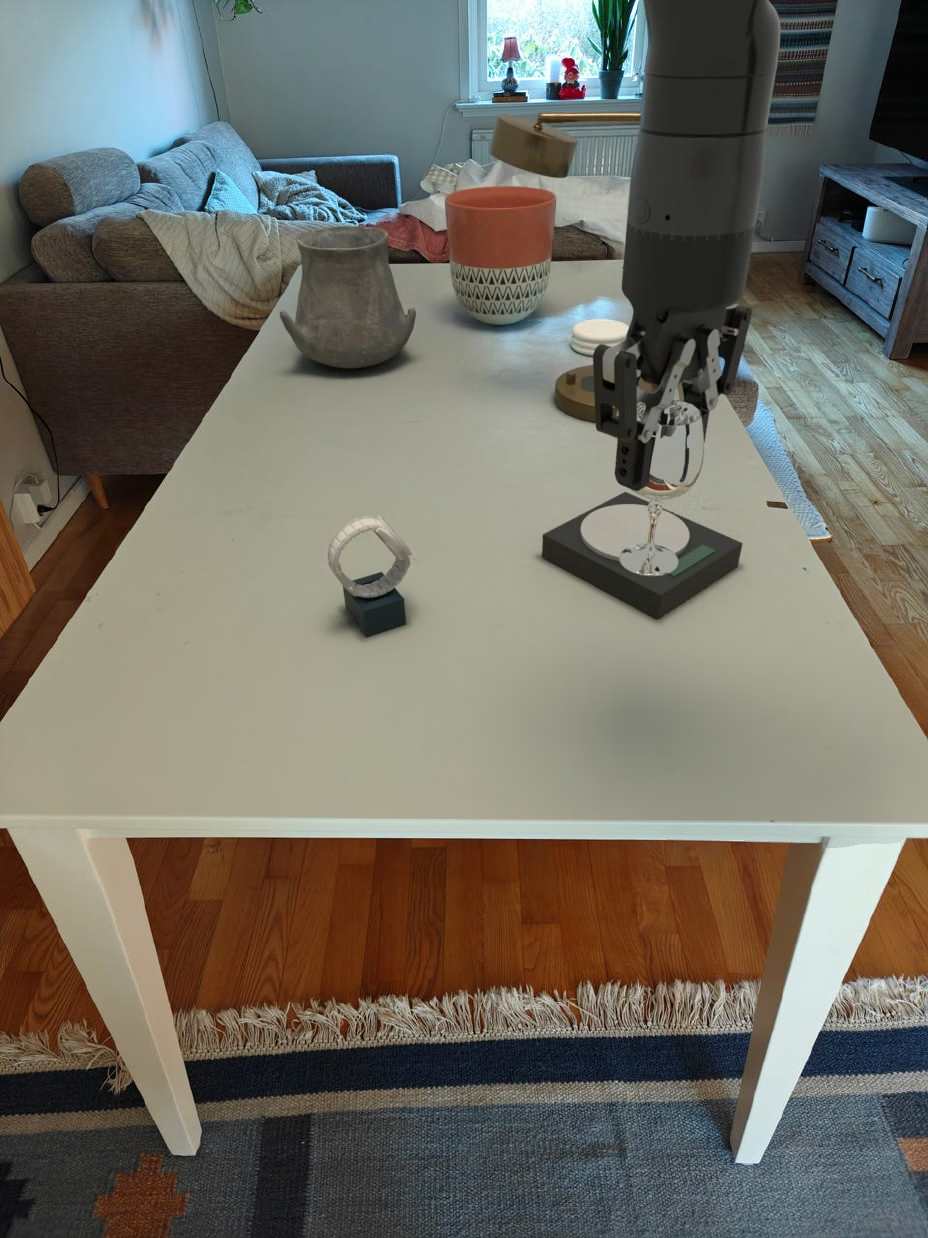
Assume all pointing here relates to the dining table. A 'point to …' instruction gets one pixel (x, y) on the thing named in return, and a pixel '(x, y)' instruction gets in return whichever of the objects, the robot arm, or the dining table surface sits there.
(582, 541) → the scale
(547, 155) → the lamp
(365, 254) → the vessel
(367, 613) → the watch
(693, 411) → the wineglass
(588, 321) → the white round stack
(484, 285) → the planter
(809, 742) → the dining table surface
